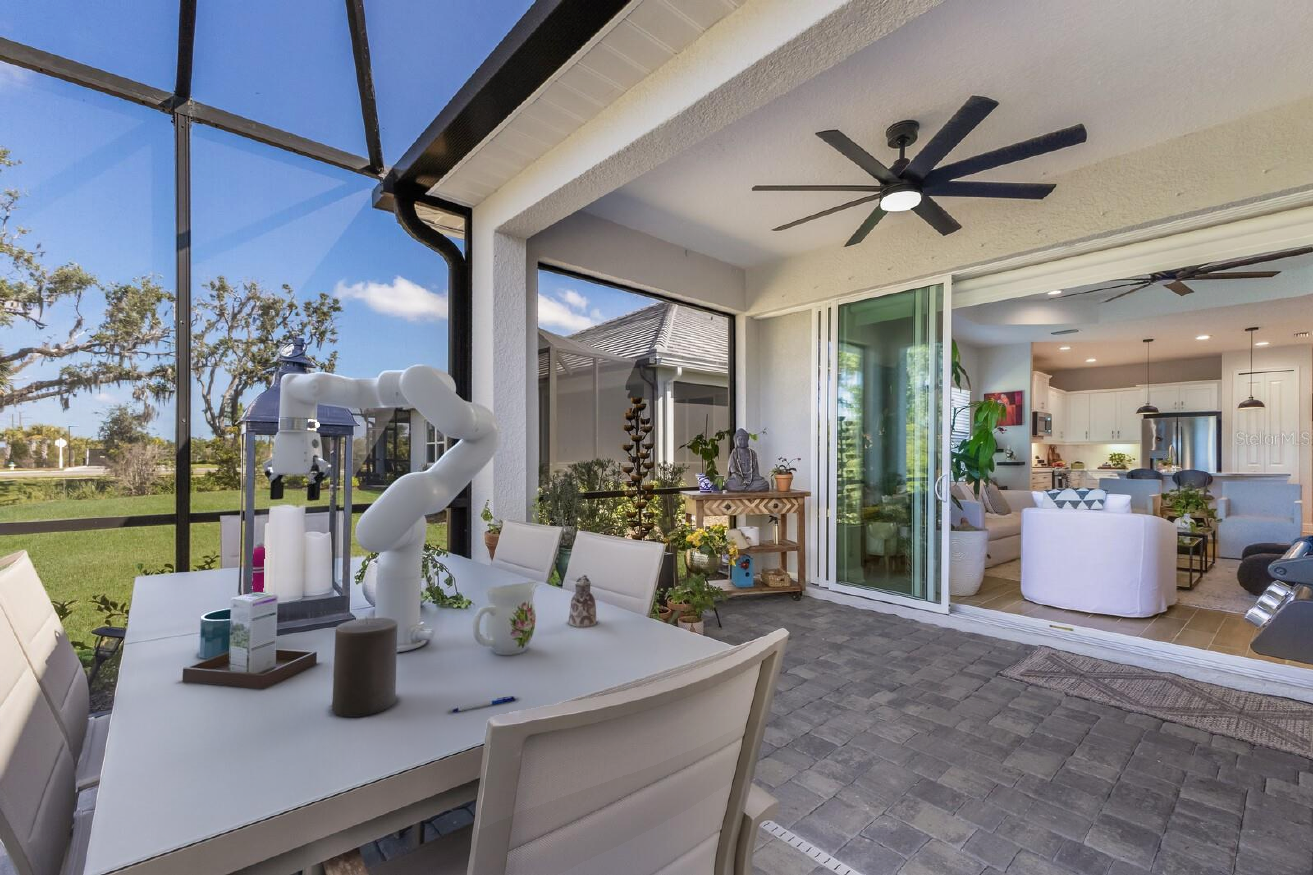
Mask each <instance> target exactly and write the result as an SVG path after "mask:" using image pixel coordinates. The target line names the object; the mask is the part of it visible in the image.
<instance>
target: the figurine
mask: <svg viewBox="0 0 1313 875" xmlns="http://www.w3.org/2000/svg"><path fill="white" fill-rule="evenodd" d="M591 584H592V583H591V581H590V579H589V578H588V575H587V574H583V575H582V576H580V577H578V579H577V580H576V581H575V583H574V587H575V593H574V594H573V595H572V598H571V600H570V608H569V615H568V624H570V625H571V626H572V627H578V628H584V627H593V626H594V625H596V623H597V605H596V604H597V603H596V600H595V596H594V594H592V593H591Z"/></svg>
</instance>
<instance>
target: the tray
mask: <svg viewBox="0 0 1313 875" xmlns="http://www.w3.org/2000/svg"><path fill="white" fill-rule="evenodd" d="M317 660H318V651H311V650H300V649H287V648H276V666H275V667H273V668H271V669H268V670H266V671H263V672H260V673H246V672H234V671H229V652H227V653H224V654H221V655H218V656H216V657H213V658H210V659H204V660H202V661H199V662H197V663H193V664H191V665H188V666H186V667H183V668H182V680H181V682H183V683H190V684H191V683H192V684H193V683H194V684H204V685H214V686H225V687H235V688H247V689H258V690H264V689H265V688H268V687H270V686H272V685H274V684H277V683H279V682H281V681H283V680H285V679H287V678H289V677H292V676H294V675H297V674H298V673H300V672H303V671H304V670H307V669H308V668H311V667H313V666H315V665H317Z"/></svg>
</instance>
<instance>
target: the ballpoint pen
mask: <svg viewBox="0 0 1313 875" xmlns="http://www.w3.org/2000/svg"><path fill="white" fill-rule="evenodd" d="M515 701H516V698H515V696H512V695H511V696H504V697H498V698H497V699H495V700H492V701H485V702H482V703H477V704H471V705H466V706H461V707H456V708H453V709H452V712H453V713H457V712H463V711H468V710H469V711H470V710H473V709H478V708H484V707H488V706H494V705H499V704H505V703H511V702H515Z"/></svg>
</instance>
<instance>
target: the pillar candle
mask: <svg viewBox="0 0 1313 875" xmlns="http://www.w3.org/2000/svg"><path fill="white" fill-rule="evenodd" d="M397 626H398V623H397V620H395V619H389V618H375V617H367V616H365V618H357V619H353V620H349V621H345V622H343V623H340V624H338V625H337V626H336V627H335V636H334V657H333V674H332V675H333V677H332V678H333V680H332V702H331V708H332V709H331V710H332V712H333V714H334V715H336V716H339V717H345V718H347V717H352V718H353V717H354V718H358V717H362V718H363V717H367V716H371V715H375V714H377V713H380V712H383V711H385V710H387V709H389V708H391V707H392V706H393V705H394V703H395V702H396V692H397V690H396V687H397V657H398V656H397V655H398V652H397Z"/></svg>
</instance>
